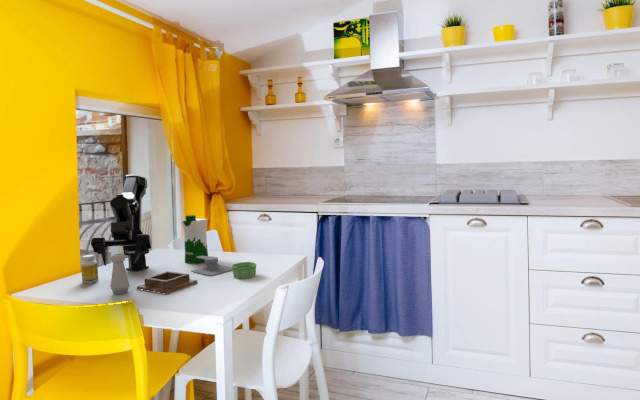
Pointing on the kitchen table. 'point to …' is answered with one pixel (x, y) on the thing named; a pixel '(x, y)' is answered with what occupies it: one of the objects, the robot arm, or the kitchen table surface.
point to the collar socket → (167, 282)
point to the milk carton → (194, 239)
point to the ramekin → (244, 270)
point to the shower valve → (211, 267)
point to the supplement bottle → (89, 269)
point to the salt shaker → (119, 275)
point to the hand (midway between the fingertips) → (119, 263)
